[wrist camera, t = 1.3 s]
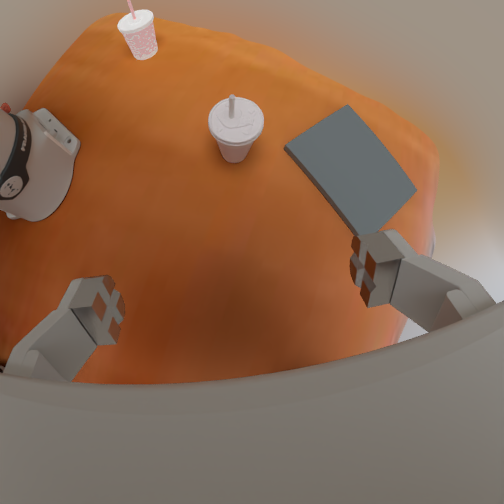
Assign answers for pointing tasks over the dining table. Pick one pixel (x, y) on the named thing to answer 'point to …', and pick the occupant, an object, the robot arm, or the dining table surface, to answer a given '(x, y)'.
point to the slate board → (352, 170)
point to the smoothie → (235, 126)
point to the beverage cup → (139, 32)
